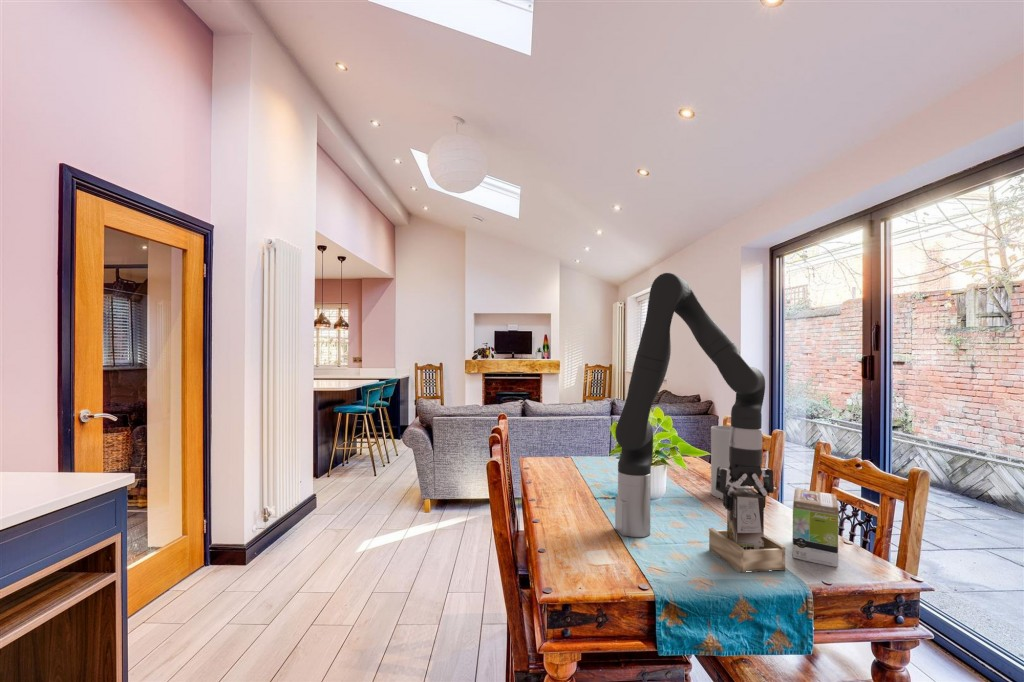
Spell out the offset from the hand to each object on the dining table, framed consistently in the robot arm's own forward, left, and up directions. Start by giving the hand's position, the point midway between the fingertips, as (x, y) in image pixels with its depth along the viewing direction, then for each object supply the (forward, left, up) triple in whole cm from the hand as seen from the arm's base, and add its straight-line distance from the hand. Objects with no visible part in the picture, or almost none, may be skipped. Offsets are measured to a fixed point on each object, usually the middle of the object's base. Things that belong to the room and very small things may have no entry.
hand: (744, 509), depth 121 cm
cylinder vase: (+28, +52, -13) cm, 61 cm away
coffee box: (0, 0, -12) cm, 12 cm away
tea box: (+21, +2, -13) cm, 25 cm away
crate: (0, 0, -13) cm, 13 cm away
